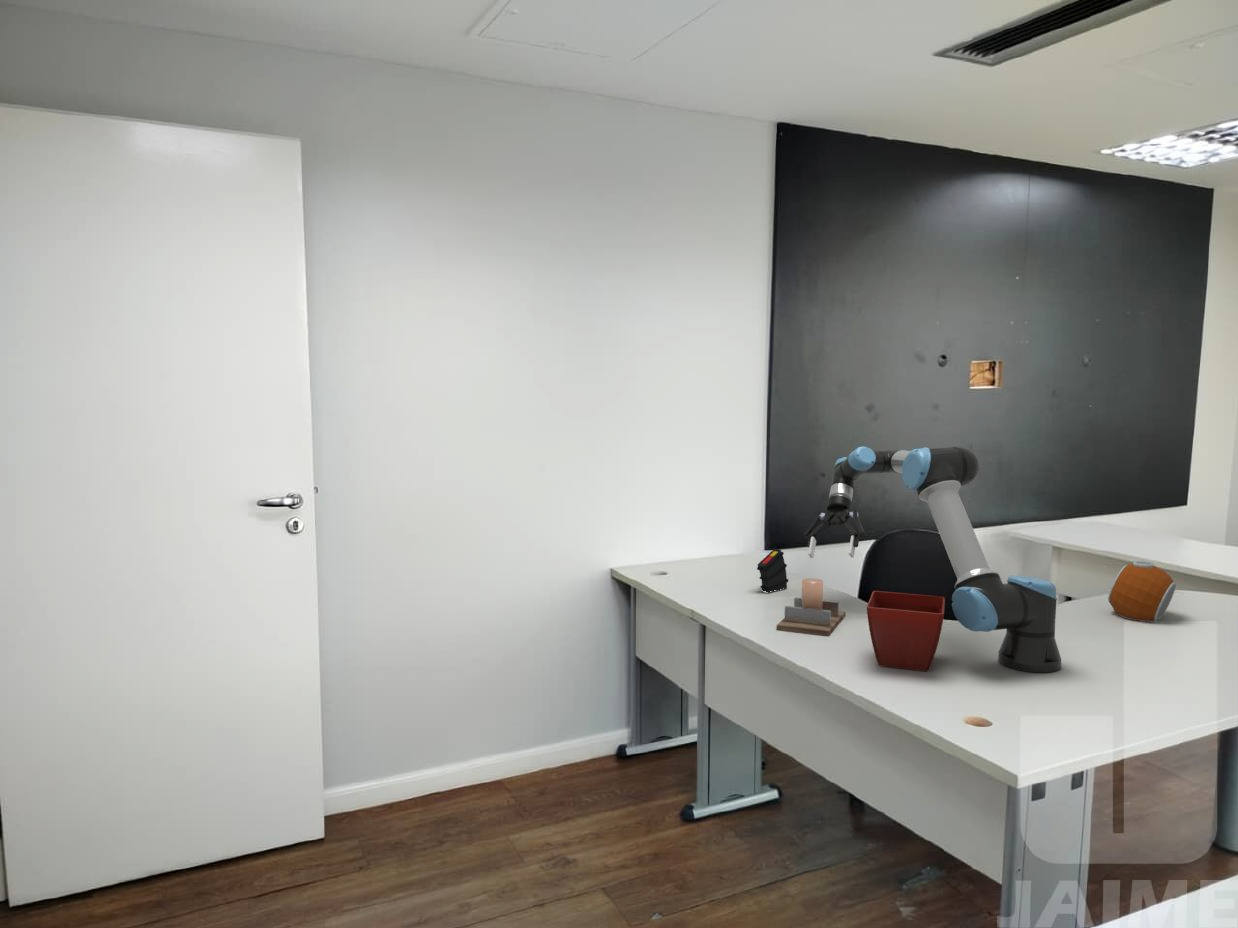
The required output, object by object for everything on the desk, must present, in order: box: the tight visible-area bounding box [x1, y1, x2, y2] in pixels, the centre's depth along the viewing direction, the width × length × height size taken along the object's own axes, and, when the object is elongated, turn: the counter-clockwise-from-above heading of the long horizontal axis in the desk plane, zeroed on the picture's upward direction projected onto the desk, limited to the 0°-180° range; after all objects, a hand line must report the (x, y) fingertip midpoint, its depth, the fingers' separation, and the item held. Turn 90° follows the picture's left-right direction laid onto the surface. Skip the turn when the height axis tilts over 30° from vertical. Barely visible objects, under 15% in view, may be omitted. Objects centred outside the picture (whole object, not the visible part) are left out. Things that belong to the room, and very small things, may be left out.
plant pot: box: [866, 590, 946, 672], centre depth 228 cm, size 19×19×17 cm
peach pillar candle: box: [801, 578, 824, 610], centre depth 267 cm, size 6×6×12 cm
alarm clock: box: [1107, 560, 1177, 622], centre depth 269 cm, size 19×18×17 cm
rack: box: [776, 597, 847, 637], centre depth 267 cm, size 24×16×6 cm, turn 154°
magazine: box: [756, 548, 789, 592], centre depth 309 cm, size 4×13×15 cm, turn 130°
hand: (830, 555), depth 273 cm, fingers open, 13 cm apart
